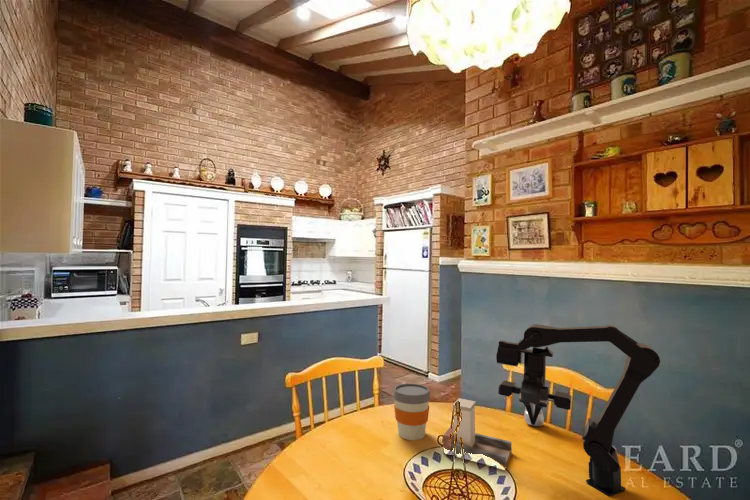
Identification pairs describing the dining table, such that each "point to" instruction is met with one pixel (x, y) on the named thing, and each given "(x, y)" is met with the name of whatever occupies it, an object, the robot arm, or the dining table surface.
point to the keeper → (466, 422)
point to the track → (482, 446)
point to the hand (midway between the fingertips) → (533, 424)
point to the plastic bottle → (539, 419)
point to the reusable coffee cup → (411, 410)
